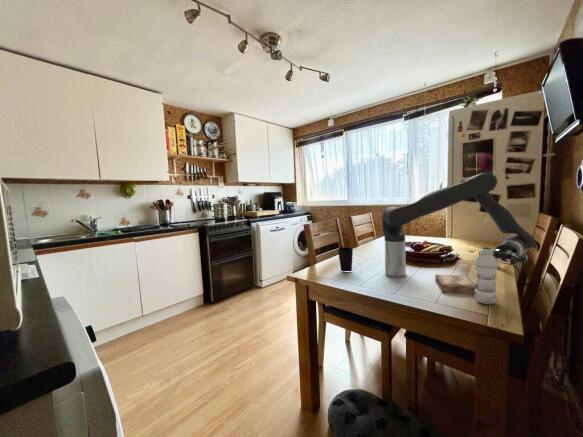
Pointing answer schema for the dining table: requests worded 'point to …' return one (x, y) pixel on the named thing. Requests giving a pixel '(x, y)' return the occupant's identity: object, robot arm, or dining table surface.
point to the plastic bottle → (486, 276)
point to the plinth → (455, 284)
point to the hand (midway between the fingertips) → (496, 260)
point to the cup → (345, 258)
